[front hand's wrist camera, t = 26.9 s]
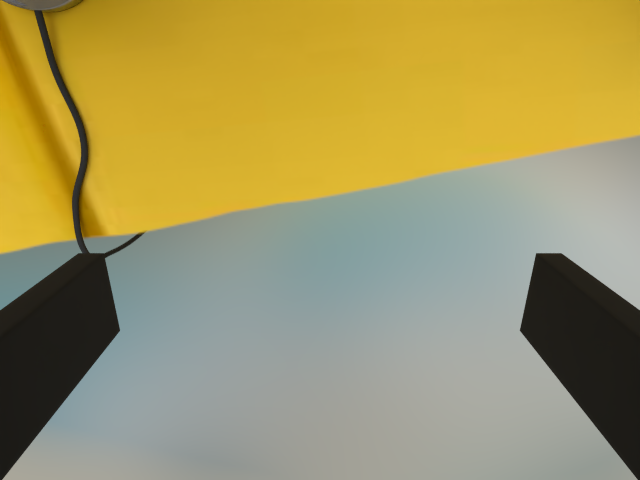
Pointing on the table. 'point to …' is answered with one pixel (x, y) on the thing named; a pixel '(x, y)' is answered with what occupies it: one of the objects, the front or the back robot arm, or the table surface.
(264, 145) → the table surface
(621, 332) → the front robot arm
